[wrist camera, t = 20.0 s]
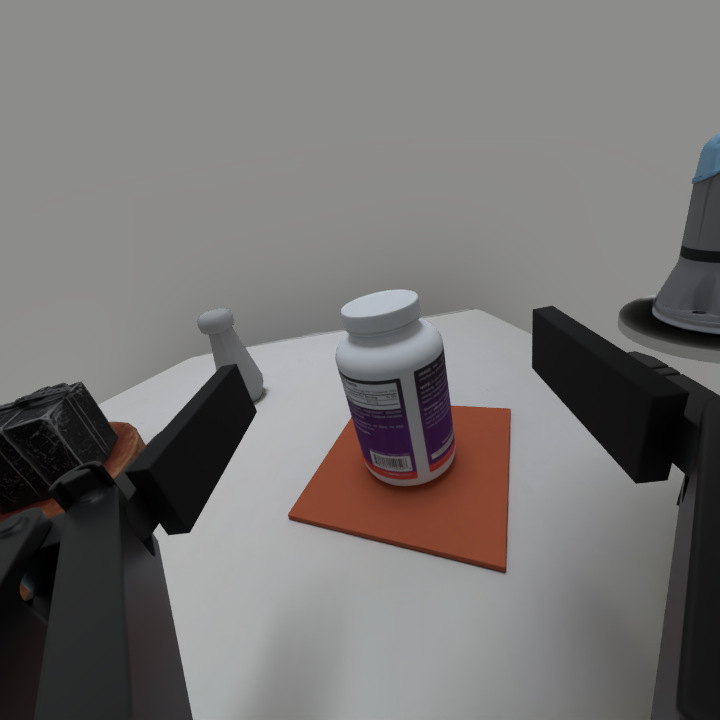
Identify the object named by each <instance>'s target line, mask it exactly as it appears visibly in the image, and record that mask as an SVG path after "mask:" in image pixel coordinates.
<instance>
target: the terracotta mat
mask: <svg viewBox="0 0 720 720" xmlns="http://www.w3.org/2000/svg"><path fill="white" fill-rule="evenodd" d="M451 412H452V421H453V428H454V436H455V446H456V448H455V455H454V458H453V461H452V463H451V464H450V466H449V467H448V468H447V469H446V471H445V472H443V473H442V474H441V475H440V476H438V477H437V478H435V479H433V480H431V481H429V482H426V483H423V484H420V485H415V486H396V485H392V484H389V483H386V482H384V481H382V480H380V479H378V478H377V477H376V476H374V475H373V474H372V473H371V472H370V470H369V469H368V467H367V466H366V464H365V461H364V458H363V455H362V451H361V448H360V444H359V440H358V437H357V433H356V430H355V426H354V423H353V419H352V417H351V419H350V420H349V422H348V424H347V425H346V427H345V428H344V430H343V431H342V433H341V434H340V436H339V437H338V439H337V440H336V442H335V443H334V445H333V447H332V448H331V450H330V451H329V453H328V454H327V456H326V457H325V459H324V460H323V462H322V463H321V465H320V466H319V468H318V469H317V471H316V473H315V474H314V476H313V477H312V479H311V480H310V482H309V483H308V485H307V486H306V488H305V489H304V491H303V492H302V494H301V496H300V497H299V499H298V500H297V502H296V503H295V505H294V506H293V508H292V509H291V511H290V512H289V514H288V517H289V519H292V520H296V521H300V522H304V523H308V524H312V525H316V526H320V527H324V528H328V529H332V530H336V531H340V532H344V533H349V534H353V535H357V536H361V537H365V538H369V539H373V540H377V541H381V542H385V543H389V544H393V545H397V546H401V547H405V548H409V549H413V550H417V551H421V552H425V553H430V554H434V555H438V556H442V557H446V558H450V559H454V560H458V561H462V562H466V563H470V564H474V565H478V566H482V567H486V568H490V569H494V570H498V571H502V572H506V547H507V513H508V480H509V446H510V409H506V408H486V407H467V406H451Z"/></svg>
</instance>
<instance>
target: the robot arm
mask: <svg viewBox="0 0 720 720" xmlns="http://www.w3.org/2000/svg"><path fill="white" fill-rule="evenodd" d="M693 183H694V185H693V190H692V195H691V201H690V206H689V212H688V216H687V222H686V226H685V231H684V236H683V241H682V246H681V252H680V257H679V260H678V262H677V264H676V266H675V267H674V269H673V270H672V272H671V274H670V275H669V277H668V279H667V280H666V282H665V284H664V285H663V287H662V288H661V290H660V292H659V293H658V295H657V297H656V296H655V297H656V298H654V303H653V309H652V316H653V318H654V319H655V320H657V321H658V322H660V323H661V324H663V325H665V326H668V327H671V328H673V329H677V330H680V331H684V332H688V333H693V334H699V335H705V336H713V337H720V133H719V134H717V135H716V136H714V137H713V138H711V139H710V140H709V141H708V143H706V144H705V146H704V147H703V149H702V152H701V155H700V159H699V162H698V166H697V170H696V174H695V177H694V178H693V179H692V184H693ZM532 368H533V369H534V370H535V372H536V373H537V374H538V375H539V376H540V377H541V378H542V379H543V380H544V382H545V383H546V384H547V385H548V386H549V387H550V388H551V389H552V391H553V392H554V393H555V394H556V395H557V396H558V397H559V398H560V399H561V401H562V402H563V403H564V404H565V405H566V406H567V407H568V408H569V410H570V411H571V412H572V413H573V414H574V415H575V416H576V417H577V418H578V420H579V421H580V422H581V423H582V424H583V425H584V426H585V427H586V428H587V430H588V431H589V432H590V433H591V434H592V435H593V436H594V437H595V439H596V440H597V441H598V442H599V443H600V444H601V445H602V446H603V447H604V449H605V450H606V451H607V452H608V453H609V454H610V455H611V456H612V457H613V459H614V460H615V461H616V462H617V463H618V464H619V465H620V466H621V468H622V469H623V470H624V471H625V472H626V473H627V474H628V475H629V476H630V478H631V479H632V480H633V481H634V482H635V483H636V484H637V483H647V482H656V481H665V480H668V477H669V473H670V469H671V465H672V463H673V464H675V465H676V466H677V467H678V468H679V469H680V470H681V471H682V472H683V473H685V476H684V479H683V483H682V486H681V490H680V494H679V497H678V501H677V505H678V506H679V512H678V519H677V527H676V534H675V542H674V549H673V557H672V564H671V572H670V579H669V587H668V594H667V602H666V609H665V617H664V624H663V632H662V639H661V647H660V654H659V662H658V669H657V677H656V684H655V692H654V699H653V707H652V714H651V720H720V396H719V395H718V394H716V393H714V392H713V391H711V390H709V389H707V388H706V387H704V386H702V385H701V384H699V383H697V382H696V381H694V380H692V379H690V378H689V377H687V376H685V375H683V374H680V372H678V371H677V370H675V369H673V368H671V367H668V365H667V364H665V363H663V362H661V361H660V360H658V359H656V358H655V357H652V356H648V355H645V354H642V353H639V352H635V351H634V352H628V353H626V352H625V351H623V350H621V349H620V348H618V347H617V346H615V345H614V344H612V343H610V342H609V341H607V340H606V339H604V338H603V337H601V336H599V335H598V334H596V333H595V332H593V331H591V330H590V329H588V328H587V327H585V326H584V325H582V324H580V323H579V322H577V321H575V320H574V319H572V318H571V317H569V316H568V315H566V314H564V313H563V312H561V311H560V310H558V309H557V308H555V307H553V306H549V307H543V308H538V309H533V333H532ZM256 413H257V411H256V408H255V406H254V404H253V401H252V399H251V397H250V394H249V392H248V389H247V387H246V385H245V382H244V380H243V378H242V375H241V373H240V371H239V368H238V366H237V363H236V364H231V365H225V366H221V367H220V368H219V369H218V370H217V371H216V373H215V374H214V375H213V376H212V377H211V378H210V379H209V380H208V381H207V382H206V384H205V385H204V386H203V387H202V388H201V389H200V390H199V391H198V392H197V393H196V394H195V396H194V397H193V398H192V399H191V400H190V401H189V402H188V403H187V404H186V405H185V407H184V408H183V409H182V410H181V411H180V412H179V413H178V414H177V415H176V416H175V417H174V419H173V420H172V421H171V422H170V423H169V424H168V425H167V426H166V427H165V428H164V430H163V431H161V432H160V433H159V434H157V435H156V436H155V437H154V438H153V439H152V440H151V441H150V442H149V443H148V444H147V445H146V448H144V449H143V450H142V451H141V452H140V453H139V456H136V457H135V458H134V459H133V460H132V462H131V463H130V464H129V465H128V466H127V467H126V468H125V469H124V470H123V471H122V472H121V473H120V475H119V476H118V477H117V478H116V479H115V480H114V479H113V478H112V477H111V475H110V474H109V472H108V471H107V470H106V468H105V467H104V466H103V464H102V463H101V461H92V462H87V463H85V464H82V465H80V466H77V467H75V468H74V469H72V470H70V471H68V472H67V473H65V474H64V475H62V476H61V477H60V478H58V479H57V480H56V481H55V482H54V483H53V484H52V485H51V486H50V488H49V490H48V493H49V494H50V495H51V496H52V497H53V499H54V500H55V501H56V502H57V503H58V504H59V506H60V507H61V508H62V509H63V510H64V511H65V512H63V513H60V514H58V515H55V516H52V517H49V518H48V517H47V516H46V515H45V513H44V512H43V511H42V510H41V509H40V508H39V507H35V508H30V509H26V510H23V511H21V512H19V513H17V514H14V515H12V516H10V517H8V519H5V520H4V521H2V522H1V523H0V720H193V718H192V713H191V708H190V703H189V698H188V693H187V687H186V682H185V677H184V672H183V667H182V662H181V657H180V652H179V646H178V641H177V636H176V631H175V626H174V621H173V616H172V610H171V605H170V600H169V595H168V590H167V585H166V580H165V575H164V569H163V564H162V559H161V554H160V549H159V544H158V540H157V539H156V537H155V536H154V534H153V532H154V530H155V529H156V527H157V526H158V524H159V523H160V524H161V525H162V527H163V528H164V530H165V531H166V533H167V534H168V535H174V534H183V533H190V531H191V529H192V528H193V526H194V524H195V522H196V521H197V519H198V517H199V515H200V513H201V512H202V510H203V508H204V506H205V504H206V503H207V501H208V499H209V497H210V495H211V494H212V492H213V490H214V488H215V486H216V485H217V483H218V481H219V479H220V477H221V476H222V474H223V472H224V470H225V468H226V467H227V465H228V463H229V461H230V459H231V458H232V456H233V454H234V452H235V450H236V449H237V447H238V445H239V443H240V441H241V440H242V438H243V436H244V434H245V432H246V431H247V429H248V427H249V425H250V423H251V422H252V420H253V418H254V416H255V414H256ZM20 584H22V585H24V586H25V587H26V588H27V589H28V590H29V591H30V592H29V594H28V596H27V598H26V599H25V600H23V598H22V596H21V595H20Z"/></svg>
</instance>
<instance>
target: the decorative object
mask: <svg viewBox="0 0 720 720" xmlns="http://www.w3.org/2000/svg"><path fill="white" fill-rule="evenodd" d="M144 448H146V445H145V443H144V442H143V440H142V438H141V437H140V435H139V433H138V432H137V429H136V428H135V427H133V426H132V425H130V424H129V423H124V422H108V420H107V419H106V417H105V416H104V414H103V413H102V411H101V410H100V408H99V406H98V405H97V403H96V402H95V401H94V399H93V397H92V396H91V395H90V393H89V392H88V390H87V389H86V387H85V386H84V384H83V383H82V382H78V383H74V384H72V385H68V384H66V383H61V384H58V385H55V386H53V387H44V388H42V389H40V390H38V391H36V392H34V393H32V394H30V395H26V396H23V397H21V398H19V399H17V400H16V401H15V402H11V403H8V404H4V405H0V523H1V522H2V521H4V520H5V519H8V517H10V516H12V515H14V514H17V513H19V512H21V511H23V510H26V509H30V508H35V507H39V508H40V509H41V510H42V511H43V512H44V513H45V515H46V516H47V517H48V518H49V517H52V516H55V515H58V514H60V513H63V512H65V511H64V510H63V509H62V508H61V507H60V506H59V504H58V503H57V502H56V501H55V500H54V499H53V497H52V496H51V495H50V494H49V493H48V490H49V488H50V486H51V485H52V484H53V483H54V482H55V481H56V480H57V479H58V478H60V477H61V476H62V475H64V474H65V473H67V472H68V471H70V470H72V469H74V468H75V467H77V466H80V465H82V464H85V463H87V462H92V461H101V463H102V464H103V466H104V467H105V468H106V470H107V471H108V472H109V474H110V475H111V477H112V478H113V479H114V480H115V479H116V478H117V477H118V476H119V475H120V473H121V472H122V471H123V470H124V469H125V468H126V467H127V466H128V465H129V464H130V463H131V462H132V460H133V459H134V458H135V457H136V456H139V453H140V452H141V451H142V450H143V449H144ZM29 592H30V591H29V590H28V589H27V588H26V587H25V586H24V585H22V584H20V595H21V596H22V598H23V600H25V599H26V598H27V596H28V594H29Z"/></svg>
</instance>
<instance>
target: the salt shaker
mask: <svg viewBox="0 0 720 720" xmlns="http://www.w3.org/2000/svg"><path fill="white" fill-rule="evenodd" d="M197 323H198V327H199V329H200V331H201V332H202V333H203V334H208V335H209V339H210V343H211V347H212V351H213V356H214V361H215V365H216V370H218V369H219V368H220V367H221V366H225V365H231V364H236V363H237V366H238V368H239V371H240V373H241V375H242V378H243V380H244V382H245V385H246V387H247V389H248V392H249V394H250V397H251V399H252V401H253V402H254V401H256V400H258V399H259V398H260V397H261V394H262V388H263V376H262V373H261V372H260V370H259V369H258V367H257V365H256V364H255V362H254V361H253V359H252V358H251V356H250V354H249V353H248V351H247V350H246V348H245V346H244V345H243V343H242V342H241V340H240V339H239V337H238V336H237V334H236V332H235V331H234V329H233V327H232V325H234V318H233V315H232V313H231V312H230V310H228V309H224V308H222V309H215V310H211V311H208V312H206V313H204V314H202V315H201V316H199V318H198V321H197Z"/></svg>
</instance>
